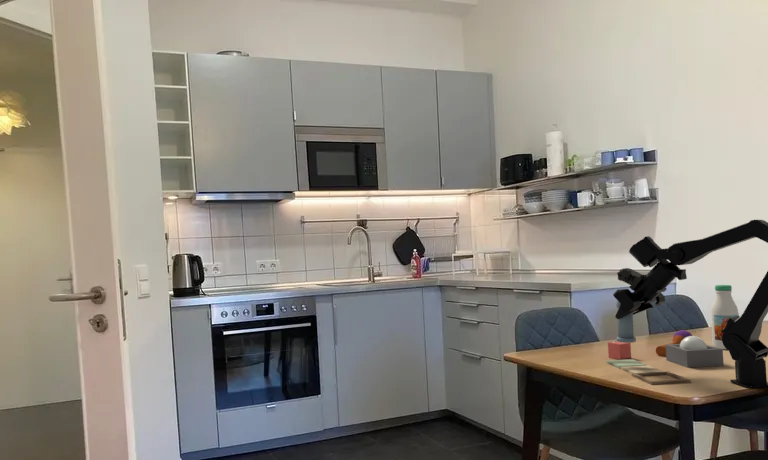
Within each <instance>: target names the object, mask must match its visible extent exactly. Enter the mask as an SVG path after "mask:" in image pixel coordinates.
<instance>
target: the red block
mask: <svg viewBox="0 0 768 460" xmlns="http://www.w3.org/2000/svg"><path fill="white" fill-rule="evenodd" d="M631 347H632V346H631V343H625V342H618V341H617V340H616V341H610V342H607V349H608V358H611V359H614V360H627V359H632V348H631Z"/></svg>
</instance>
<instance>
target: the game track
mask: <svg viewBox="0 0 768 460" xmlns="http://www.w3.org/2000/svg"><path fill="white" fill-rule="evenodd" d="M605 362H606V364H608V365H611V366H612V367H615V368H618V369H620V370H622V371H624V372H627V373H629V374H630V375H631V376H632V377H633V378H636V379H639V380H641V381H643V382H645V383H647V384H649V385H651V386H652V385H668V384H669V385H670V384H671V385H672V384H683V383H684V384H686V383H691V379H689V378H687V377H684V376H681V375H678V374H676V373H673V372H671V371H666V370H665V371H664V370H661V369H659V368H656V367H654V366H652V365H648V364H647V363H643V362H641V361H639V360H636V359H633V358H627V359H621V360H620V359H612V360H611V359H610V360H606V361H605ZM663 375H664V376H665V375H667V376H669V377H672V378H674V379H665V380H663V379H662V380H652V379H650V378H648V377H649V376H663ZM646 376H647V377H646Z"/></svg>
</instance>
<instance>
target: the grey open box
mask: <svg viewBox="0 0 768 460" xmlns="http://www.w3.org/2000/svg"><path fill="white" fill-rule="evenodd" d="M668 344H669V345H666V344H665V345H666V356H665V357H666V361H669V362H670V363H673V364H677V365H679V366H683V367H686V368H698V367H699V368H700V367H716V366H717V367H718V366H725V365H724V349H721V348H717V347H713V345H709V344H706V345H707V349H697V350H687V349H683V348H680V344H670V343H668Z"/></svg>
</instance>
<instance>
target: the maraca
mask: <svg viewBox="0 0 768 460" xmlns="http://www.w3.org/2000/svg"><path fill="white" fill-rule="evenodd" d="M688 336H693V334H692V333H691V332H690V331H687V330H685V329H679V330H677V331H676V332H675V333H674V334H673V337H672V342H671V343H666V344H663V345H659V346H657V347H656V348H655V353H656V355H657V356H660V357H666V345H669V344H680V343H681V341H682V340H683V339H684V338H686V337H688Z"/></svg>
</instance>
